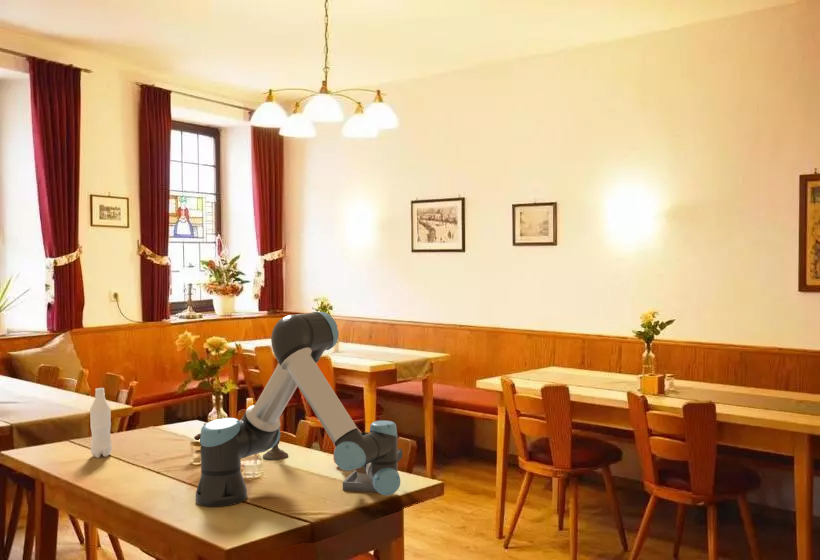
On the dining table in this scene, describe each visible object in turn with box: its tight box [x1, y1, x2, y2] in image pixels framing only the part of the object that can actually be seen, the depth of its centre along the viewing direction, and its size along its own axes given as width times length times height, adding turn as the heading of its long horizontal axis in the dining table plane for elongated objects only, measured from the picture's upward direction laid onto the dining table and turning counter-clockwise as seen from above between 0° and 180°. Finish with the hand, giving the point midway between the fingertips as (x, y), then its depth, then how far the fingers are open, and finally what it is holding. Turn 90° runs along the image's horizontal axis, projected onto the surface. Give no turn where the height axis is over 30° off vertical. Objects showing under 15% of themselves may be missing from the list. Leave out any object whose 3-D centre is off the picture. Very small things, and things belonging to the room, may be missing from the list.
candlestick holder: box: [262, 437, 289, 461], centre depth 267 cm, size 9×9×30 cm
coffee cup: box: [355, 431, 372, 483], centre depth 234 cm, size 8×8×15 cm
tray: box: [342, 469, 378, 493], centre depth 234 cm, size 13×13×2 cm
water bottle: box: [89, 387, 113, 459], centre depth 270 cm, size 7×7×25 cm
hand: (366, 448), depth 236 cm, fingers open, 13 cm apart
